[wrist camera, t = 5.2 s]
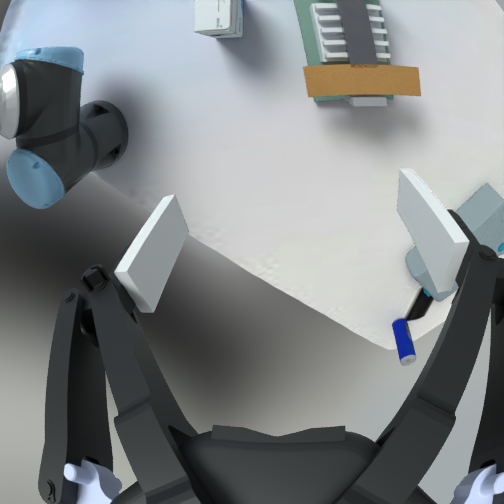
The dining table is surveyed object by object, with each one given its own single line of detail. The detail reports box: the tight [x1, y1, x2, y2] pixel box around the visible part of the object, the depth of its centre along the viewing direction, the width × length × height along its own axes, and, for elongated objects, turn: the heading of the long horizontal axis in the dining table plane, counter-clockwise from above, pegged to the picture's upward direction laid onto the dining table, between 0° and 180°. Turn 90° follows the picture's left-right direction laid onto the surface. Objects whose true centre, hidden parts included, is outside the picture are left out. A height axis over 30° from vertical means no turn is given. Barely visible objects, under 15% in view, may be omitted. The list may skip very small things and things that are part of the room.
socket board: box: [294, 0, 393, 107], centre depth 27 cm, size 14×24×12 cm, turn 12°
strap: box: [303, 0, 421, 97], centre depth 25 cm, size 17×20×2 cm
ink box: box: [194, 0, 243, 38], centre depth 27 cm, size 8×5×12 cm, turn 179°
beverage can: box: [392, 318, 416, 365], centre depth 70 cm, size 5×5×15 cm
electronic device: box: [406, 183, 504, 302], centre depth 50 cm, size 17×31×10 cm, turn 145°
